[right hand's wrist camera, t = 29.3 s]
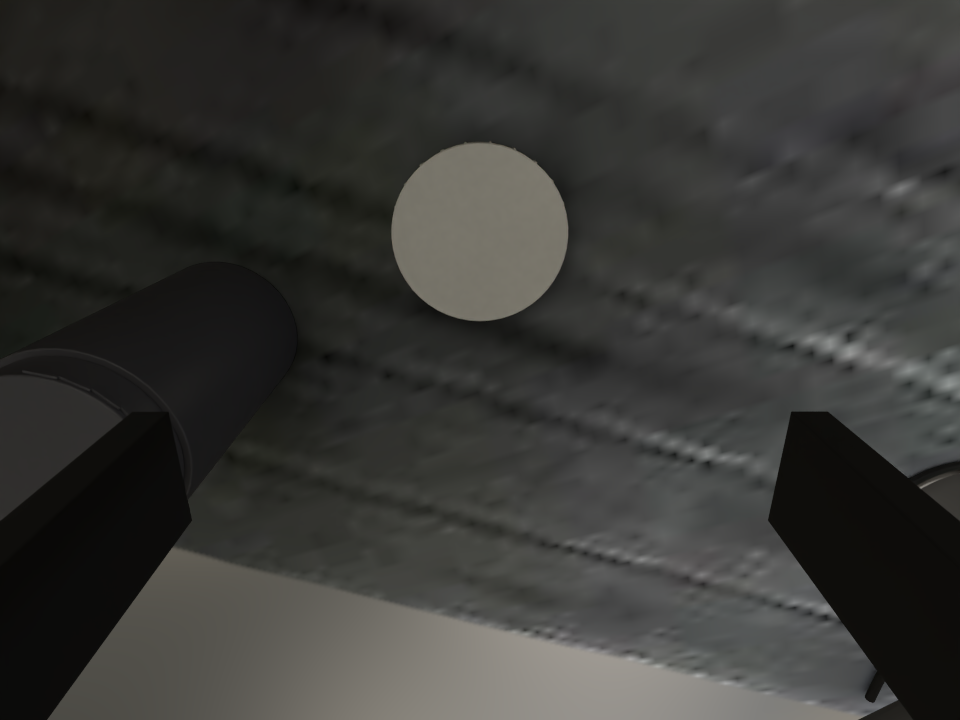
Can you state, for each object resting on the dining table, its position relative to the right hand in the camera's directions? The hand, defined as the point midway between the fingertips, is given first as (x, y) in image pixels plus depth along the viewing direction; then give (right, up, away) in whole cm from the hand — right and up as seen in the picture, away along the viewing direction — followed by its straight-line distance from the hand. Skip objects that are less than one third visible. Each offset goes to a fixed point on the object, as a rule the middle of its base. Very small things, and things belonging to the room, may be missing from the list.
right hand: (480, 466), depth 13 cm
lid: (0, +10, +26) cm, 28 cm away
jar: (-18, +4, +31) cm, 36 cm away
